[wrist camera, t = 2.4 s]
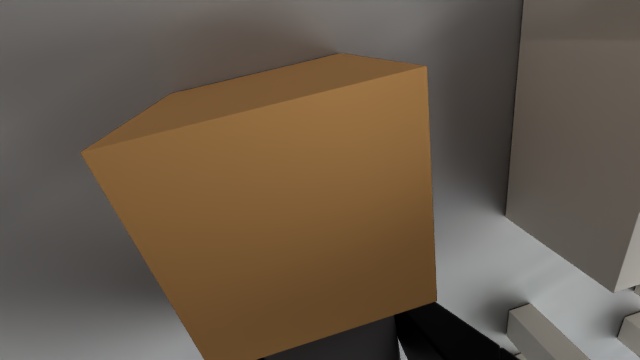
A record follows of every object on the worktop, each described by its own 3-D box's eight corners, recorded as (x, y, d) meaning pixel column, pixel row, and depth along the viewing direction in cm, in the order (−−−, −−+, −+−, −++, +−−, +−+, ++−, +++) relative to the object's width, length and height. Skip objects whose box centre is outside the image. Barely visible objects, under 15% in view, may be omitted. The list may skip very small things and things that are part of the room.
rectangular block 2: (652, 285, 14) (767, 355, 11) (506, 335, 13) (583, 426, 10) (663, 259, 13) (789, 326, 10) (509, 310, 13) (593, 399, 10)
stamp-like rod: (397, 403, 14) (447, 529, 10) (311, 433, 14) (333, 574, 10) (340, 53, 7) (426, 66, 4) (170, 93, 7) (79, 152, 3)
